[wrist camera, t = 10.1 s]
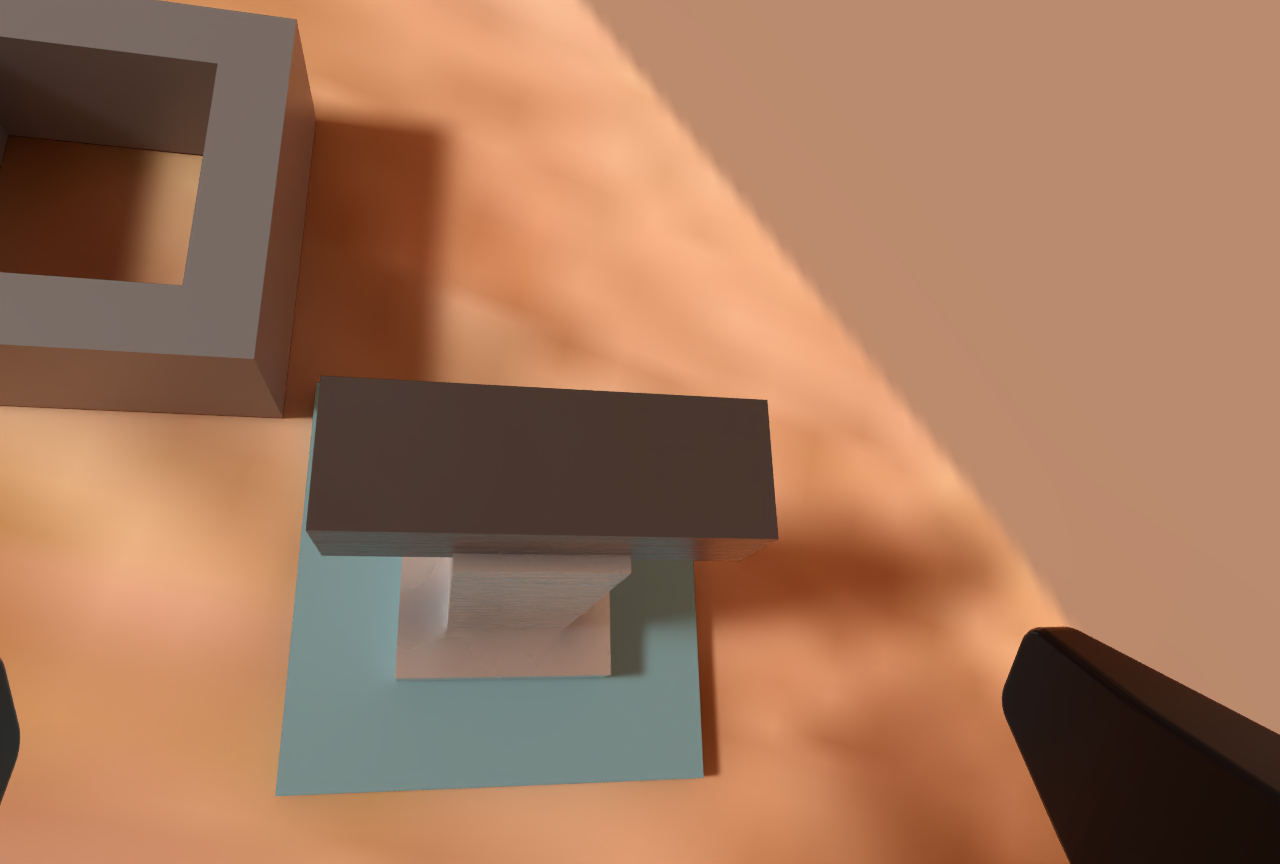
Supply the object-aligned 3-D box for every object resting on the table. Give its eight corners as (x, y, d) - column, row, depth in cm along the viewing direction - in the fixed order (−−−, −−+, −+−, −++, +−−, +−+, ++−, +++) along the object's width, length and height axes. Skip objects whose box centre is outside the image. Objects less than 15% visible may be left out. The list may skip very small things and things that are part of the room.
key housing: (282, 418, 21) (253, 359, 17) (-138, 398, 19) (-258, 329, 15) (316, 118, 23) (296, 19, 20) (-49, 76, 21) (-135, -40, 18)
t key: (635, 677, 20) (785, 634, 11) (360, 681, 19) (294, 637, 10) (630, 486, 21) (761, 319, 13) (375, 478, 20) (329, 288, 11)
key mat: (697, 776, 20) (703, 777, 19) (279, 794, 18) (275, 796, 18) (680, 408, 23) (685, 401, 22) (319, 389, 21) (316, 382, 20)
